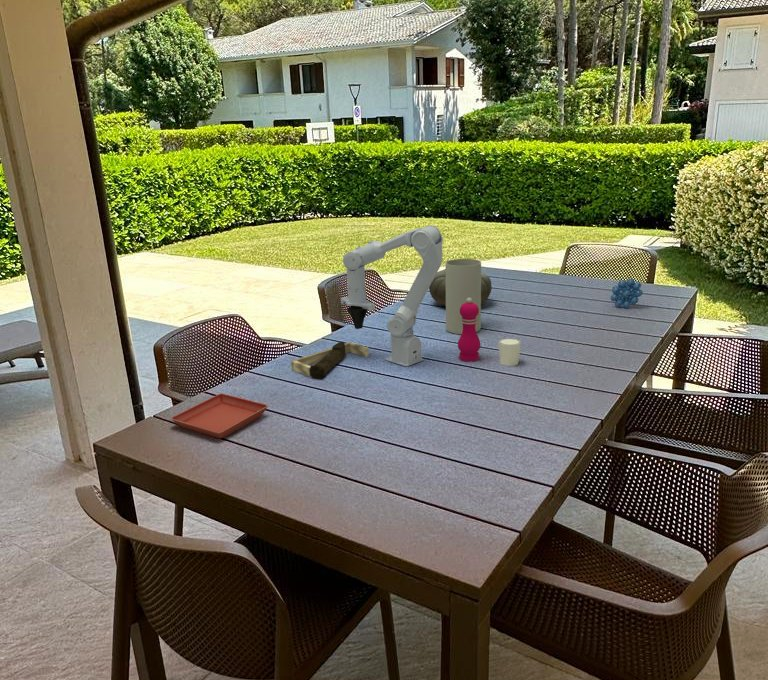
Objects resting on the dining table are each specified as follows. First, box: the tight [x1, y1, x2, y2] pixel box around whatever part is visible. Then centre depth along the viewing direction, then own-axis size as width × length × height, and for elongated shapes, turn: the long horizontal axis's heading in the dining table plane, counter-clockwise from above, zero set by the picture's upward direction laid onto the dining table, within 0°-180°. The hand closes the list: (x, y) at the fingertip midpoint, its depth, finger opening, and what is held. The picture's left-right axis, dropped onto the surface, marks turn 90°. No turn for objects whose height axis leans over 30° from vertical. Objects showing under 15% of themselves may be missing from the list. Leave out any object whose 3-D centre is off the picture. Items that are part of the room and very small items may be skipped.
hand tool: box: [310, 341, 346, 380], centre depth 205 cm, size 23×5×6 cm, turn 159°
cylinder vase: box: [445, 258, 482, 335], centre depth 233 cm, size 12×12×25 cm
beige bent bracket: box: [290, 341, 370, 378], centre depth 208 cm, size 9×24×3 cm, turn 133°
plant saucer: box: [170, 393, 269, 439], centre depth 169 cm, size 18×18×3 cm
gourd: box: [428, 268, 493, 307], centre depth 267 cm, size 25×25×17 cm
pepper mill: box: [457, 298, 481, 363], centre depth 205 cm, size 7×7×20 cm
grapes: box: [610, 278, 644, 309], centre depth 254 cm, size 12×7×12 cm, turn 68°
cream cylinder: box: [498, 338, 522, 367], centre depth 201 cm, size 7×7×7 cm
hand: (358, 328), depth 212 cm, fingers closed
